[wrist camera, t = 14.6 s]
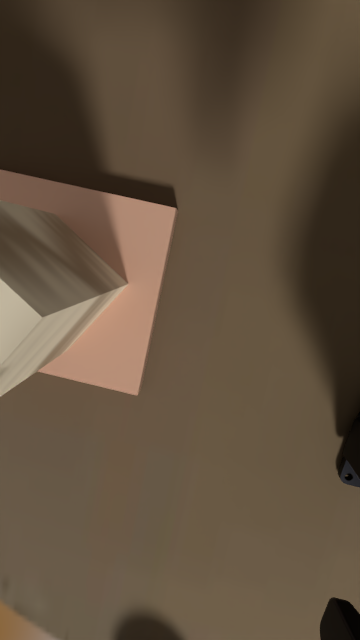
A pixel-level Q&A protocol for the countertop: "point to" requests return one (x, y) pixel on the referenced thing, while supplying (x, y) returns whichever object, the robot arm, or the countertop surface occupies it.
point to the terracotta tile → (124, 258)
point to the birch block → (45, 290)
